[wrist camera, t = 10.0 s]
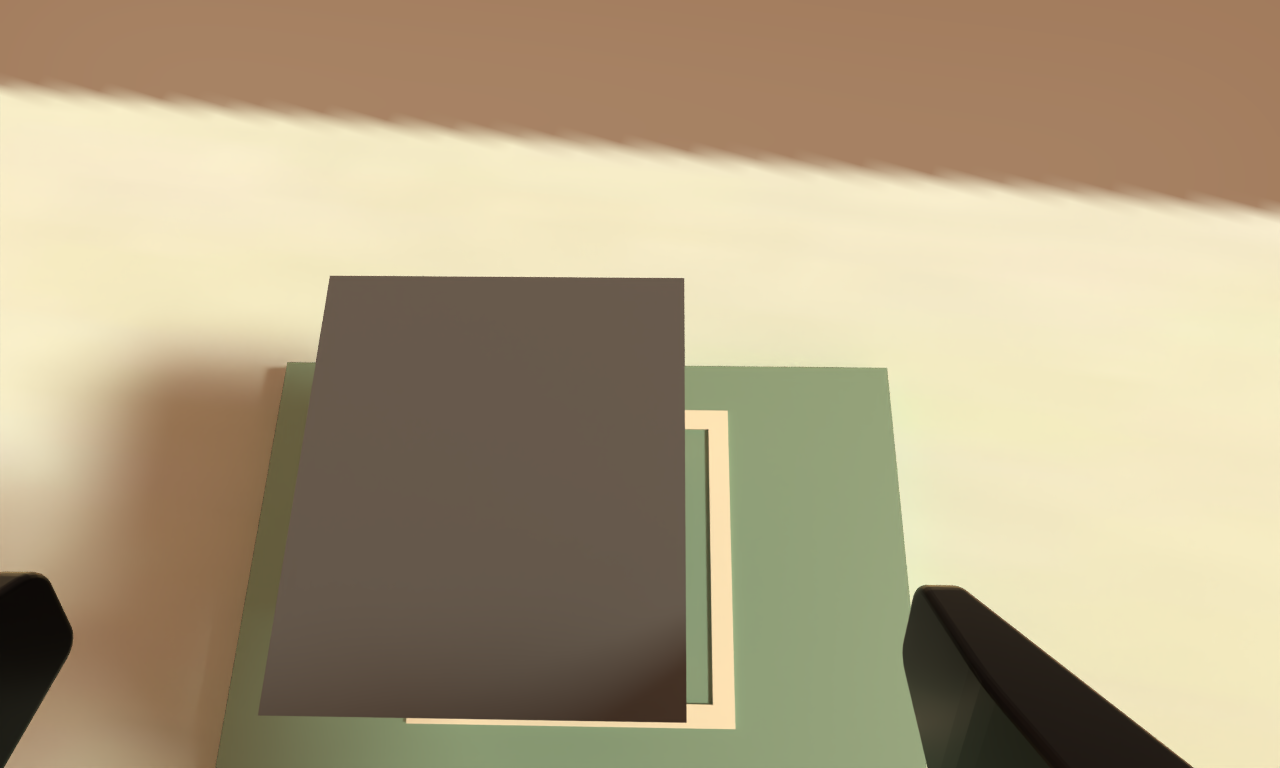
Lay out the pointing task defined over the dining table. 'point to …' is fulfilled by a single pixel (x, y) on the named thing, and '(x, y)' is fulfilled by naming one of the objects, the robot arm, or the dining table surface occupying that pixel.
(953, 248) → the dining table surface
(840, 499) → the board
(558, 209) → the dining table surface
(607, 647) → the plug block
